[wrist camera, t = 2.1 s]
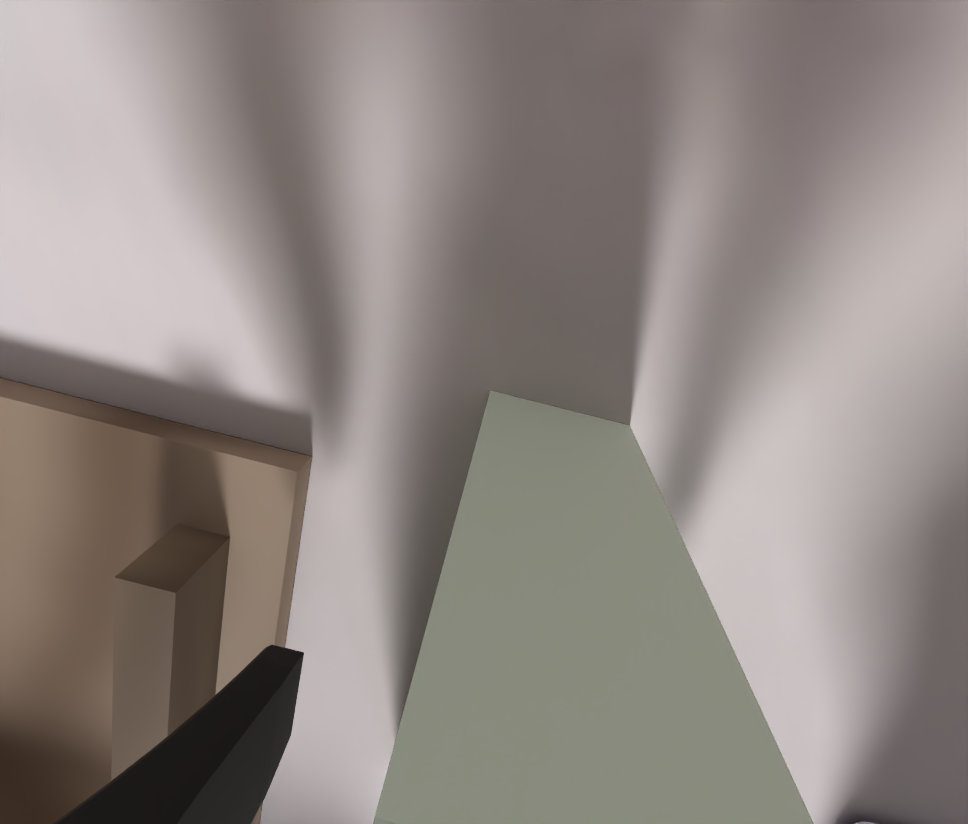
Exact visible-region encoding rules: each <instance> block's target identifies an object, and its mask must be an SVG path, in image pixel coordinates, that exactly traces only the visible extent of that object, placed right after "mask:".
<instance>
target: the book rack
mask: <svg viewBox="0 0 968 824" xmlns="http://www.w3.org/2000/svg"><path fill="white" fill-rule="evenodd" d="M311 461H312V457H311V456H307V455H303V454H299V453H295V452H291V451H287V450H283V449H279V448H275V447H271V446H267V445H263V444H259V443H255V442H251V441H247V440H243V439H239V438H236V437H232V436H228V435H224V434H220V433H216V432H212V431H208V430H204V429H200V428H196V427H192V426H188V425H184V424H180V423H176V422H172V421H168V420H164V419H160V418H156V417H152V416H149V415H145V414H141V413H137V412H133V411H129V410H125V409H121V408H117V407H113V406H109V405H105V404H101V403H97V402H93V401H89V400H85V399H81V398H77V397H73V396H69V395H65V394H62V393H58V392H54V391H50V390H46V389H42V388H38V387H34V386H30V385H26V384H22V383H18V382H14V381H10V380H6V379H2V378H0V824H53V823H54V822H55V821H57V820H58V819H60V818H61V817H63V816H64V815H66V814H67V813H68V812H70V811H71V810H73V809H74V808H75V807H77V806H78V805H79V804H81V803H82V802H84V801H85V800H86V799H88V798H89V797H90V796H92V795H93V794H94V793H96V792H97V791H99V790H100V789H101V788H103V787H104V786H105V785H107V784H108V783H109V782H111V781H112V780H113V779H114V778H116V777H117V776H118V775H120V774H121V773H122V772H123V771H125V770H126V769H127V768H128V767H130V766H131V765H132V764H134V763H135V762H136V761H137V760H139V759H140V758H141V757H142V756H144V755H145V754H146V753H148V752H149V751H150V750H151V749H153V748H154V747H155V746H156V745H158V744H159V743H160V742H161V741H163V740H164V739H165V738H166V737H167V736H169V735H170V734H171V733H172V732H173V731H175V730H176V729H177V728H178V727H179V726H180V725H182V724H183V723H184V722H185V721H186V720H187V719H189V718H190V717H191V716H192V715H193V714H194V713H196V712H197V711H198V710H199V709H200V708H201V707H203V706H204V705H205V704H206V703H207V702H208V701H209V700H210V699H212V698H213V697H214V696H215V695H216V694H217V693H218V692H219V691H220V690H221V689H223V688H224V687H225V686H226V685H227V684H228V683H229V682H230V681H231V680H232V679H233V678H235V677H236V676H237V675H238V674H239V673H240V672H241V671H242V670H243V669H244V668H245V667H246V666H247V665H248V664H249V663H250V662H251V661H252V660H253V659H254V658H255V657H256V656H257V655H258V654H259V653H260V652H261V651H262V650H263V649H264V648H266V647H268V646H270V645H276V646H280V647H284V648H285V642H286V635H287V628H288V621H289V614H290V607H291V600H292V593H293V586H294V579H295V572H296V565H297V558H298V551H299V544H300V537H301V530H302V523H303V516H304V509H305V502H306V495H307V488H308V481H309V474H310V468H311ZM261 809H262V804H261V806H260V808H259V810H258V811H257V813H256V815H255V817H254V819H253V821H252V823H251V824H259V823H260V816H261Z"/></svg>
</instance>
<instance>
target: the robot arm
mask: <svg viewBox="0 0 968 824" xmlns="http://www.w3.org/2000/svg"><path fill="white" fill-rule="evenodd" d="M303 655H304V653H303V652H299V651H295V650H291V649H287V648H284V647H280V646H276V645H270V646H268V647H266V648H264V649H263V650H262V651H261V652H260V653H259V654H258V655H257V656H256V657H255V658H254V659H253V660H252V661H251V662H250V663H249V664H248V665H247V666H246V667H245V668H244V669H243V670H242V671H241V672H240V673H239V674H238V675H237V676H236V677H235V678H233V679H232V680H231V681H230V682H229V683H228V684H227V685H226V686H225V687H224V688H223V689H221V690H220V691H219V692H218V693H217V694H216V695H215V696H214V697H213V698H212V699H210V700H209V701H208V702H207V703H206V704H205V705H204V706H203V707H201V708H200V709H199V710H198V711H197V712H196V713H194V714H193V715H192V716H191V717H190V718H189V719H187V720H186V721H185V722H184V723H183V724H182V725H180V726H179V727H178V728H177V729H176V730H175V731H173V732H172V733H171V734H170V735H169V736H167V737H166V738H165V739H164V740H163V741H161V742H160V743H159V744H158V745H156V746H155V747H154V748H153V749H151V750H150V751H149V752H148V753H146V754H145V755H144V756H142V757H141V758H140V759H139V760H137V761H136V762H135V763H134V764H132V765H131V766H130V767H128V768H127V769H126V770H125V771H123V772H122V773H121V774H120V775H118V776H117V777H116V778H114V779H113V780H112V781H111V782H109V783H108V784H107V785H105V786H104V787H103V788H101V789H100V790H99V791H97V792H96V793H94V794H93V795H92V796H90V797H89V798H88V799H86V800H85V801H84V802H82V803H81V804H79V805H78V806H77V807H75V808H74V809H73V810H71V811H70V812H68V813H67V814H66V815H64V816H63V817H61V818H60V819H58V820H57V821H55V822H54V823H53V824H251V823H252V821H253V819H254V817H255V815H256V813H257V811H258V810H259V808H260V806H261V804H262V802H263V800H264V798H265V796H266V794H267V791H268V789H269V787H270V784H271V782H272V779H273V777H274V775H275V772H276V770H277V768H278V765H279V763H280V760H281V758H282V755H283V753H284V750H285V748H286V745H287V743H288V741H289V738H290V736H291V731H292V725H293V718H294V712H295V706H296V699H297V693H298V687H299V680H300V674H301V668H302V661H303ZM854 824H876V823H872V822H864V821H863V822H857V823H854Z"/></svg>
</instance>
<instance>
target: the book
mask: <svg viewBox="0 0 968 824" xmlns="http://www.w3.org/2000/svg"><path fill="white" fill-rule="evenodd" d="M373 824H814V823H813V821H812V819H811V817H810V815H809V813H808V810H807V808H806V806H805V804H804V802H803V800H802V797H801V795H800V793H799V791H798V789H797V787H796V784H795V782H794V780H793V778H792V776H791V774H790V771H789V769H788V767H787V765H786V763H785V761H784V758H783V756H782V754H781V752H780V750H779V748H778V745H777V743H776V741H775V739H774V737H773V735H772V732H771V730H770V728H769V726H768V724H767V722H766V719H765V717H764V715H763V713H762V711H761V709H760V706H759V704H758V702H757V700H756V698H755V696H754V693H753V691H752V689H751V687H750V685H749V683H748V680H747V678H746V676H745V674H744V672H743V670H742V667H741V665H740V663H739V661H738V659H737V657H736V654H735V652H734V650H733V648H732V646H731V644H730V641H729V639H728V637H727V635H726V633H725V631H724V628H723V626H722V624H721V622H720V620H719V618H718V615H717V613H716V611H715V609H714V607H713V605H712V602H711V600H710V598H709V596H708V594H707V592H706V589H705V587H704V585H703V583H702V581H701V579H700V576H699V574H698V572H697V570H696V568H695V566H694V563H693V561H692V559H691V557H690V555H689V553H688V550H687V548H686V546H685V544H684V542H683V540H682V537H681V535H680V533H679V531H678V529H677V527H676V524H675V522H674V520H673V518H672V516H671V514H670V511H669V509H668V507H667V505H666V503H665V501H664V498H663V496H662V494H661V492H660V490H659V488H658V485H657V483H656V481H655V479H654V477H653V475H652V472H651V470H650V468H649V466H648V464H647V462H646V459H645V457H644V455H643V453H642V451H641V449H640V446H639V444H638V442H637V440H636V438H635V436H634V433H633V431H632V429H631V427H630V425H626V424H622V423H618V422H614V421H610V420H606V419H602V418H598V417H594V416H590V415H586V414H582V413H578V412H574V411H570V410H566V409H562V408H558V407H554V406H550V405H546V404H542V403H538V402H534V401H530V400H526V399H523V398H519V397H515V396H511V395H507V394H503V393H499V392H495V391H491V390H490V393H489V397H488V401H487V405H486V408H485V412H484V416H483V419H482V423H481V427H480V430H479V434H478V438H477V441H476V445H475V449H474V453H473V456H472V460H471V464H470V467H469V471H468V475H467V478H466V482H465V486H464V489H463V493H462V497H461V501H460V504H459V508H458V512H457V515H456V519H455V523H454V526H453V530H452V534H451V537H450V541H449V545H448V549H447V552H446V556H445V560H444V563H443V567H442V571H441V574H440V578H439V582H438V586H437V589H436V593H435V597H434V600H433V604H432V608H431V611H430V615H429V619H428V622H427V626H426V630H425V634H424V637H423V641H422V645H421V648H420V652H419V656H418V659H417V663H416V667H415V670H414V674H413V678H412V682H411V685H410V689H409V693H408V696H407V700H406V704H405V707H404V711H403V715H402V718H401V722H400V726H399V730H398V733H397V737H396V741H395V744H394V748H393V752H392V755H391V759H390V763H389V766H388V770H387V774H386V778H385V781H384V785H383V789H382V792H381V796H380V800H379V803H378V807H377V811H376V815H375V818H374V822H373Z"/></svg>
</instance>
